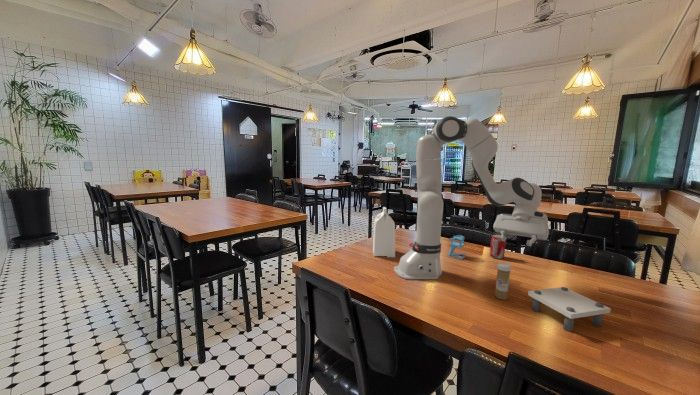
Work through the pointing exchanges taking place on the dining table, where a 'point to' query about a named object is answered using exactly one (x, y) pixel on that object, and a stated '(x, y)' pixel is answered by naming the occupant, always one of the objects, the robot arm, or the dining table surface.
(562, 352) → the dining table surface
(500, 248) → the soda can
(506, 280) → the sprinkles bottle
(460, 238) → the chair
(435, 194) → the robot arm
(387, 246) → the milk
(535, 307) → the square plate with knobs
